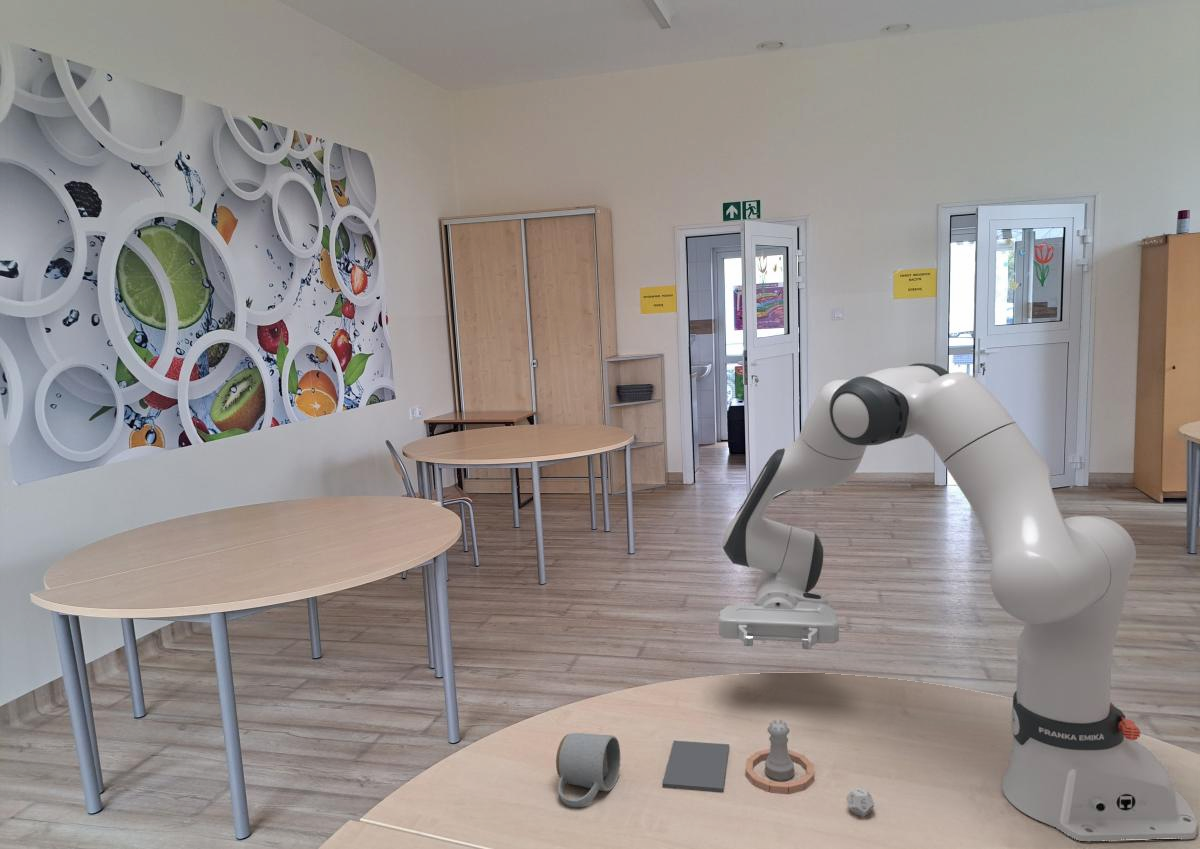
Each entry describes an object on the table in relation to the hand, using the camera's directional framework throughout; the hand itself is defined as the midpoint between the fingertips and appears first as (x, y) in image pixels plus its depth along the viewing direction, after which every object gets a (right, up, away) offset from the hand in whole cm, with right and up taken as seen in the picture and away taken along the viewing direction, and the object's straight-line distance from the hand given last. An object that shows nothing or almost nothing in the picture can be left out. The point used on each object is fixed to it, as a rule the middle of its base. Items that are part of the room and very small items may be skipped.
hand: (777, 643), depth 131 cm
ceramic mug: (-31, -19, -11) cm, 38 cm away
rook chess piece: (-2, -17, -10) cm, 20 cm away
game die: (+7, -18, -20) cm, 28 cm away
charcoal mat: (-14, -17, -7) cm, 23 cm away
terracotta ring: (-2, -17, -10) cm, 20 cm away
